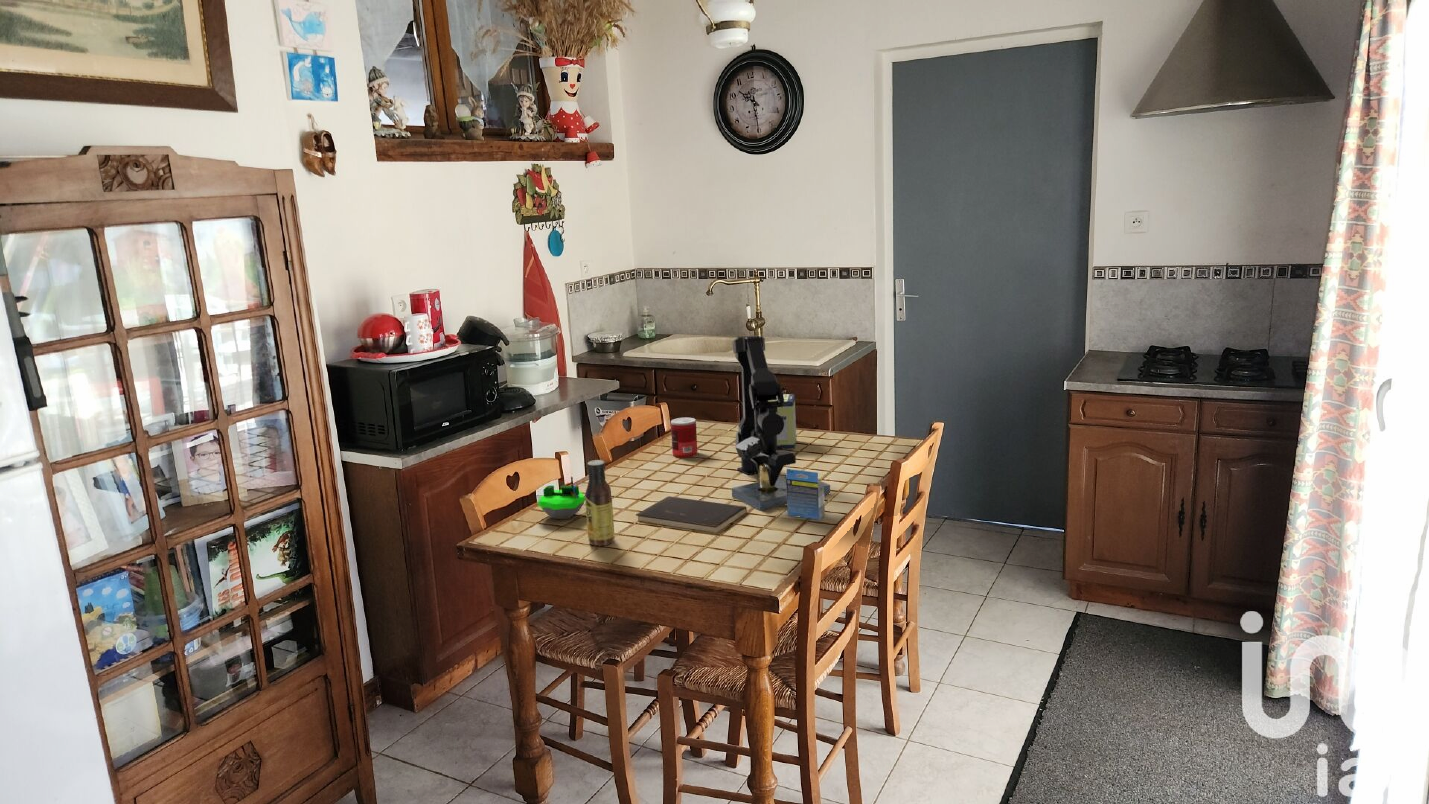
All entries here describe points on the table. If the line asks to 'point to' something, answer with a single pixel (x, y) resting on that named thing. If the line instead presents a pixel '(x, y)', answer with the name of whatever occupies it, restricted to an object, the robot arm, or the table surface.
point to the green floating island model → (561, 501)
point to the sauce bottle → (599, 505)
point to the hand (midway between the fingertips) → (767, 483)
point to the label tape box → (804, 494)
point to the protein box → (787, 422)
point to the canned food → (684, 437)
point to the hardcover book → (691, 514)
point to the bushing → (765, 480)
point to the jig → (767, 494)
